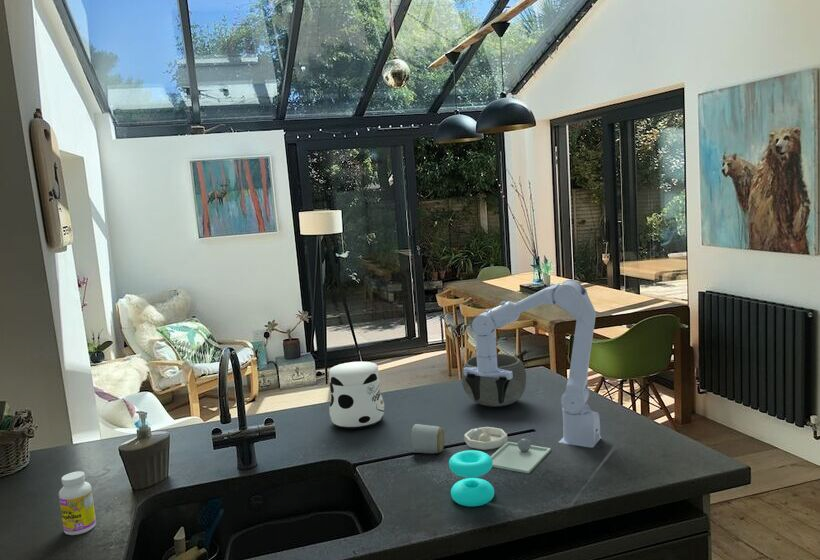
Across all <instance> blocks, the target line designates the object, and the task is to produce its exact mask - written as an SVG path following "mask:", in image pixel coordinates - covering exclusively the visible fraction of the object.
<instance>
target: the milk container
mask: <svg viewBox="0 0 820 560" xmlns="http://www.w3.org/2000/svg"><path fill="white" fill-rule="evenodd" d="M379 373H380V372H379V367H378V364H377V363H375V362H371V361H351V362H344V363H339V364H337V365H334V366H332V367H330V369H329V373H328V375H329V376H328V380H329V391H330V403H329V408H328V409H329V410H328V412H329V417H330V420H331V423H333V424H334V425H335V426H336V427H339V428H341V429H348V430H349V429H352V430H353V429H362V428H368V427H371V426H374V425H376V424H378V423H379V422H380V421H381V420H383V419H384V417H385V402H384V398H383V395H382V392H381V387H380V386H381V385H380V374H379Z"/></svg>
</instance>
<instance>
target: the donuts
mask: <svg viewBox="0 0 820 560" xmlns="http://www.w3.org/2000/svg"><path fill="white" fill-rule="evenodd" d="M490 456H491V455H489V454H488V453H486V452H484V451H481V450H475V449H470V450H469V449H468V450H463V451H459V452H456V453H454V454H453V455H452V456H451V457H450V458H449V459H448V467H449V469H450V471H451V472H452V473H453V474H455V475H456V476H459V477H461V478H462V477H463V478H462V479H461V480H457V481H456V482H455V483H454V484H453V485H452V487H451V488H450V496H451V498H452V500H453V501H454V502H455V503H457V504H458V505H460V506H465V507H480V506H484V505H486V504H488V503H489V502H491V501H492V499H494V497H495V488H494V486H493V485H492V484H491V483H490V482H489V481H487V480H486V479H482V478H479V477H482V476H485V475H486V474H487V473H489V472H490V471H491V469H492V468H493V467H492V465H493V461H492V458H491V457H490Z"/></svg>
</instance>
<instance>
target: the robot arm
mask: <svg viewBox="0 0 820 560" xmlns="http://www.w3.org/2000/svg"><path fill="white" fill-rule="evenodd" d="M543 304H548V305H550V306H551V305H552V306H554V305H557V306H558V307H560V308H561V309H563V310H565V311H566V312H569V314H571V316H572V317H573V318H574V319H575V320H576V321H575V330H574V336H573V342H572V343H573V344H572V352H571V360H570V365H569V366H570V367H569V372H568V373H569V374H568V378H567V382H566V386H565V387H566V388H565V391H564V392H563V393H562V396H561V397H560V404H561V409H562V428H563V431H562V432H563V437H562V438H561V439H560V440H559V441H558V443H560V444H566V445H573V446H580V447H585V448H590V449H591V448H594V447H595V446H596V445H597V443H598V442H599V441H600V439H602V437H601V420H600V418H601V417H600V414H599V413H598V412H597V411H593V410H591V408H590V405H589V404H588V403H587V401H588V400H589V397H590V390H589V386H588V382H589V379H588V373H589V365H590V360H591V352H592V346H593V345H592V343H593V338H594V330H595V324H596V316H597V313H596V309H595V307H594V306H593V303H592V301H591V298H590V297H589V295H588V292H587V289H586V288H585V287H584V286H583V285H582V284H581V282H579V281H578V280H575V279H566V280H565V281H563V282H558V283H555V284H553V285H549V286H547V287H545V288H543V289H541V290H538V291H537V292H535V293H532V294H530V295H529V296H527V297H525V298H523V299H521V300H519V301H516V302H513V301H511V300H508V301H506V300H503V301H501V302H500V303H499V305H497V306H494V307H493V308H492V309H491V308H488V309H485V311H483V312H482V313H480V314H478V315H477V316H475V317H474V319H473V320H472V324H471V328H472V331H473V332H474V333H475V334H474V335H475V352H476V355H475V356H477V367H466V368H464V367H463V368H464V375H467V377H466V382H467V383H468V385H469V386H470V388H471V390H472V393H473V396H474V399H475V401H477V400H479V399H480V376H485V377H495V378H499V379H498V380H496V385H497V390H498V401H499V404H502V403H503V402H504V398H505V393H506V390H507V387H508V384H509V382H510V380H511V379H512V378H513V374H512V371H507V370H502V369H498V368H497V354H498V352H497V339H496V329H501V328H502V327H504V326H507V325H509V324H511V323H513V322H516V321H518V320H519V318H520V315H521V313H524V312H527V311H529V310H532V309H535V308H537V307H539V306H541V305H543ZM475 401H474V402H475Z"/></svg>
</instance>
